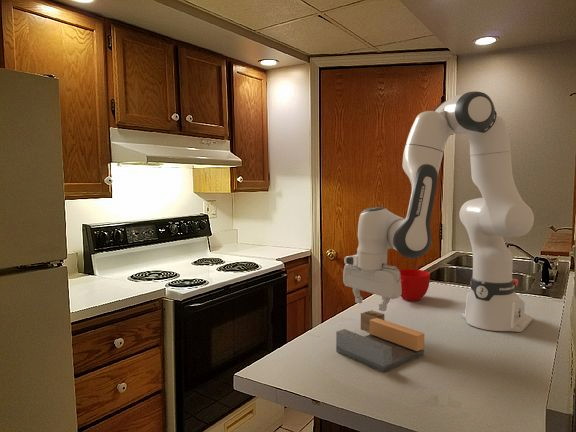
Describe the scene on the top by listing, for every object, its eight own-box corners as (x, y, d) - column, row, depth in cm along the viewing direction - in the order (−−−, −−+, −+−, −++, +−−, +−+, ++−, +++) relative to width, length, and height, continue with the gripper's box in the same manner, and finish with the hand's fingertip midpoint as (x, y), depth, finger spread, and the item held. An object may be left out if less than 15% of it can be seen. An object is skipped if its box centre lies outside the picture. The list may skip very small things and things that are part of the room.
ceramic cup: (382, 302, 159) (382, 275, 158) (403, 292, 172) (403, 267, 171) (416, 308, 151) (416, 280, 150) (435, 297, 164) (435, 271, 163)
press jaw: (376, 331, 125) (376, 317, 124) (424, 348, 112) (424, 333, 112) (369, 333, 123) (369, 319, 123) (417, 351, 110) (417, 336, 110)
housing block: (371, 325, 135) (371, 309, 134) (384, 330, 131) (384, 313, 130) (360, 329, 132) (360, 312, 131) (373, 334, 128) (373, 316, 127)
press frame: (376, 337, 125) (376, 318, 124) (423, 355, 112) (424, 334, 112) (336, 351, 115) (336, 331, 115) (383, 372, 103) (383, 350, 102)
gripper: (407, 265, 123) (405, 313, 124) (354, 255, 139) (353, 297, 140) (393, 268, 119) (391, 317, 120) (340, 257, 135) (339, 300, 136)
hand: (370, 306), depth 130 cm, fingers open, 8 cm apart
